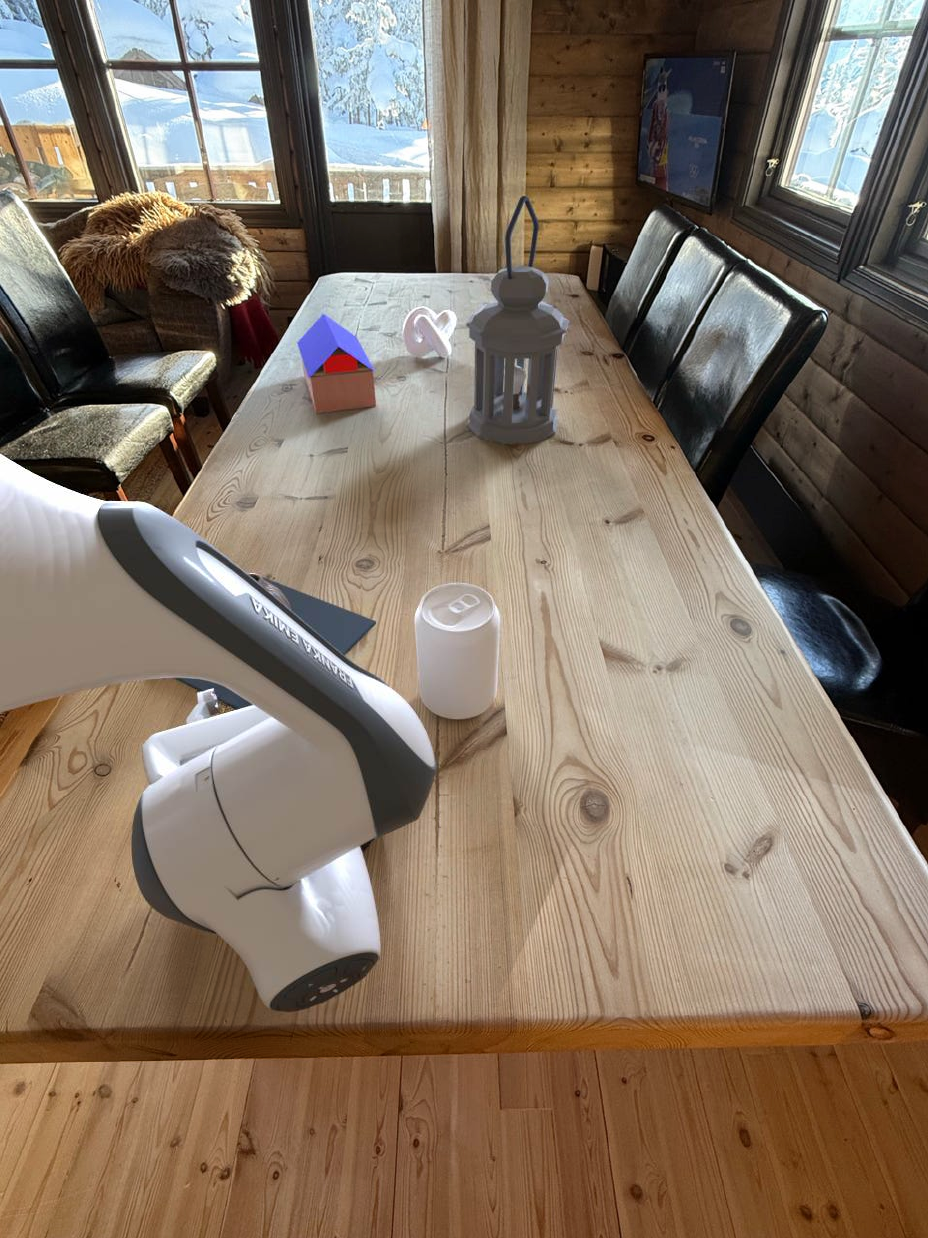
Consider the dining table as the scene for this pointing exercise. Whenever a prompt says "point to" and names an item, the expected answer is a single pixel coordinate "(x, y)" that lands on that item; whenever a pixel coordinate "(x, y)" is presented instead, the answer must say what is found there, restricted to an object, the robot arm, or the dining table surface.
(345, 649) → the mat
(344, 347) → the house
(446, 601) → the beverage can
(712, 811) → the dining table surface
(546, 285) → the lantern
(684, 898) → the dining table surface
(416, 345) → the white knot sculpture
